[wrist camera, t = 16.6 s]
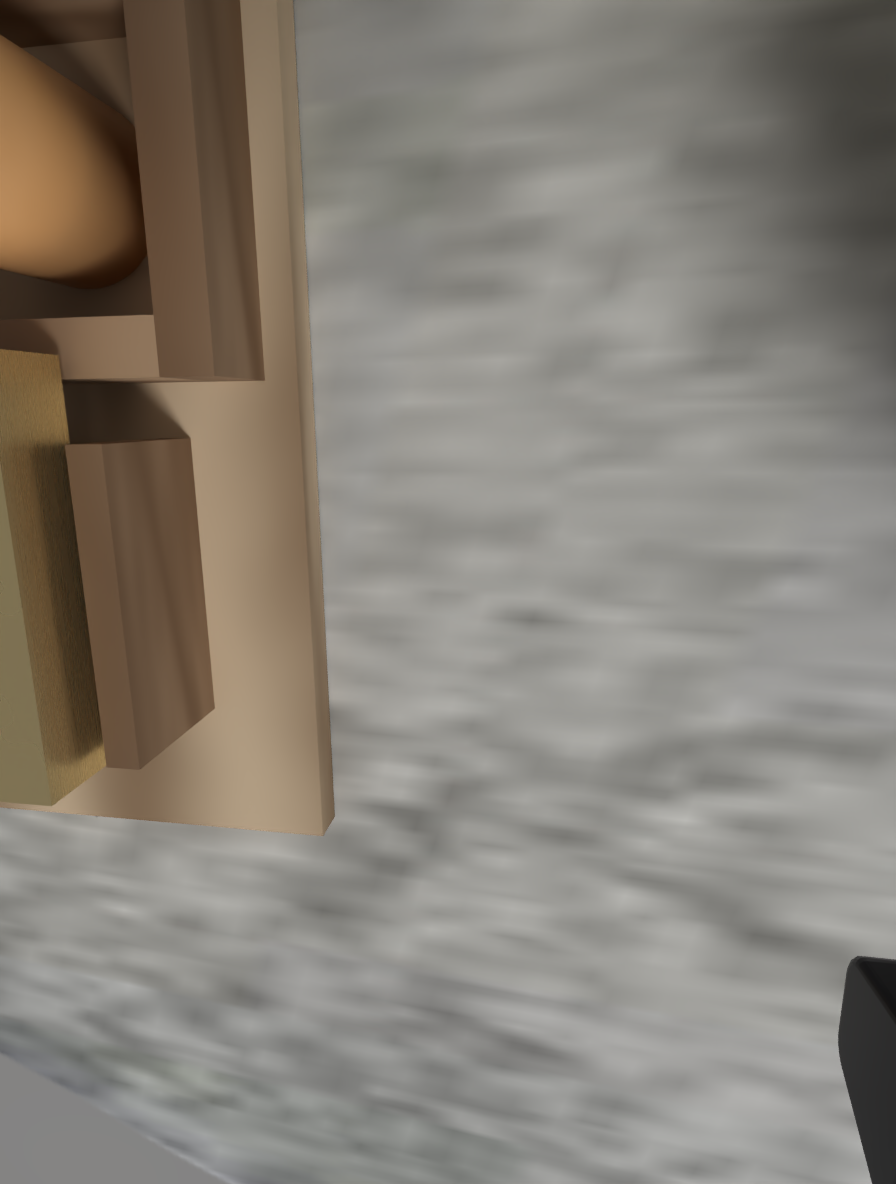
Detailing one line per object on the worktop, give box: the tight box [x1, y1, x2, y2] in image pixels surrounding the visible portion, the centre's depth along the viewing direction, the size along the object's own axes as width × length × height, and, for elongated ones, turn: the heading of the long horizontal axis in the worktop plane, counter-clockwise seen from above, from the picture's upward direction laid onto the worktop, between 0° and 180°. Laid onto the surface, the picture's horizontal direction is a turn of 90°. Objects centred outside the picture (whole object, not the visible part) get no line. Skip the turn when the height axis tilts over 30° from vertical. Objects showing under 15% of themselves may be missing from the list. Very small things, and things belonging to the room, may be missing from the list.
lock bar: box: [0, 349, 106, 806], centre depth 15 cm, size 2×9×2 cm, turn 1°
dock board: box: [0, 0, 335, 836], centre depth 17 cm, size 10×24×4 cm, turn 1°
